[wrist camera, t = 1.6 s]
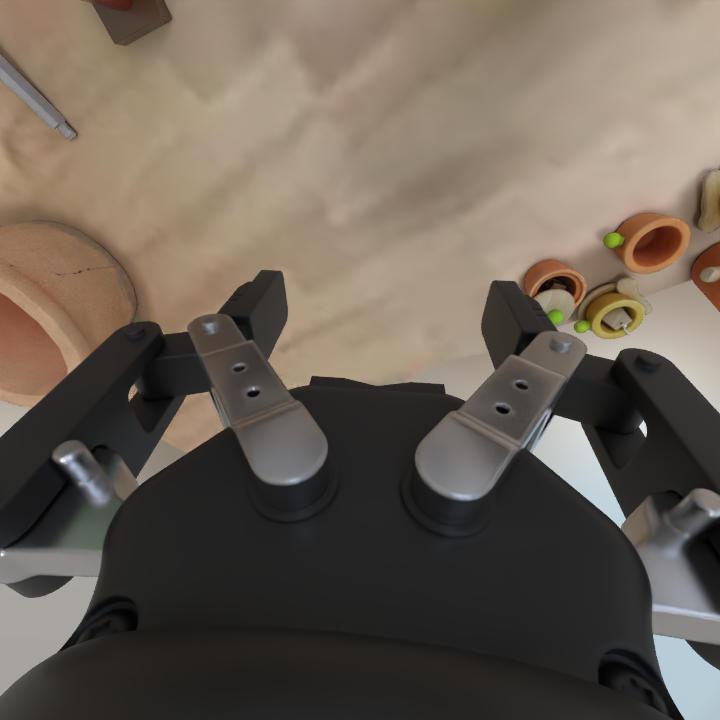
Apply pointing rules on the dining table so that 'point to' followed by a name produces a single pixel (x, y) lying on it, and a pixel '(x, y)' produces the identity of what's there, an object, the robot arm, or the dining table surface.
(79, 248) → the pottery
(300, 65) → the dining table surface
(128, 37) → the rod rack
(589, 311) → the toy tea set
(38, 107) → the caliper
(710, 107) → the dining table surface
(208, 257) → the dining table surface
